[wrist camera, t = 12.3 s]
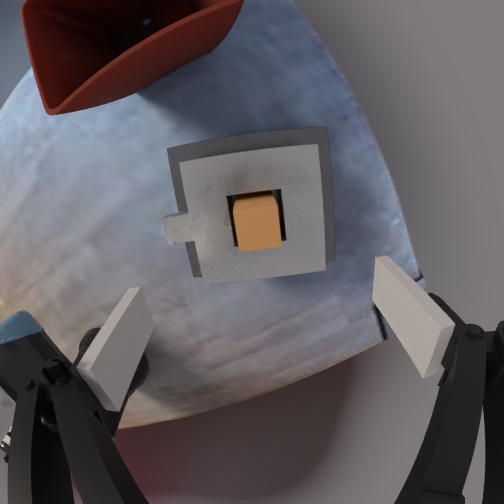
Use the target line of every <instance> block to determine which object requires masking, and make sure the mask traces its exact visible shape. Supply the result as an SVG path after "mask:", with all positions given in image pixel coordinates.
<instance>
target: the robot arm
mask: <svg viewBox="0 0 504 504" xmlns="http://www.w3.org/2000/svg"><path fill="white" fill-rule="evenodd" d="M372 300H373V301H374V303H375V304H376V306H377V307H378V309H379V310H380V312H381V313H382V315H383V316H384V317H385V319H386V320H387V322H388V323H389V325H390V326H391V328H392V329H393V331H394V332H395V334H396V336H397V337H398V339H399V340H400V342H401V343H402V345H403V346H404V348H405V349H406V351H407V353H408V354H409V356H410V357H411V359H412V361H413V362H414V364H415V366H416V367H417V369H418V370H419V372H420V374H421V376H422V377H423V378H426V377H429V376H431V375H434V374H436V373H437V372H438V369H439V367H440V365H441V364H442V366H443V367H444V368H445V370H444V372H443V375H442V377H441V379H440V381H439V383H438V386H440V388H439V391H438V395H437V399H436V403H435V406H434V410H433V413H432V417H431V419H430V423H429V426H428V429H427V432H426V434H425V437H424V440H423V442H422V445H421V448H420V450H419V453H418V455H417V458H416V460H415V463H414V465H413V467H412V469H411V471H410V474H409V476H408V478H407V480H406V482H405V484H404V486H403V488H402V490H401V492H400V494H399V496H398V498H397V499H396V501H395V503H394V504H465V497H464V496H463V495H462V490H463V487H464V484H465V481H466V477H467V474H468V471H469V467H470V464H471V461H472V457H473V453H474V448H475V444H476V440H477V435H478V430H479V425H480V419H481V412H482V405H483V412H484V424H485V453H486V455H485V456H486V457H485V482H484V492H483V501H482V504H504V321H501V322H500V323H499V324H498V327H497V329H496V331H490V332H485V331H484V330H483V329H482V328H481V327H479V326H478V325H475V324H465V323H464V322H463V321H462V320H461V318H460V317H459V316H458V315H457V314H456V313H455V312H454V311H453V310H452V309H450V307H449V306H448V305H447V304H445V302H444V301H443V300H442V299H441V298H440V297H439V296H436V295H435V294H433V293H428V294H427V293H426V292H425V291H424V290H423V289H422V288H421V287H420V286H419V285H418V284H417V283H416V282H415V281H414V280H413V279H412V278H411V277H410V276H409V275H407V274H406V273H405V272H404V271H403V270H402V269H401V268H400V267H399V266H398V265H397V264H396V263H395V262H394V261H393V260H392V259H391V258H389V257H388V256H380V257H375V272H374V285H373V296H372ZM154 327H155V325H154V322H153V320H152V317H151V314H150V312H149V309H148V306H147V303H146V301H145V298H144V295H143V292H142V289H141V287H135V288H129V289H128V291H127V292H126V293H125V295H124V296H123V298H122V299H121V300H120V302H119V303H118V305H117V306H116V308H115V309H114V310H113V312H112V313H111V315H110V316H109V318H108V319H107V321H106V322H105V324H104V325H103V327H102V328H94V329H91V330H89V331H88V332H87V333H86V334H85V336H84V337H83V338H82V340H81V342H80V345H79V353H78V356H77V358H76V360H75V361H74V363H73V364H72V363H71V362H70V361H69V360H68V359H67V358H66V356H65V355H64V354H63V353H62V352H61V351H60V350H59V348H58V347H57V346H56V345H55V344H54V343H53V341H52V340H51V339H50V338H49V336H48V335H47V334H46V333H45V331H44V328H42V327H41V326H40V325H39V324H38V323H37V322H36V320H35V319H34V318H33V317H32V315H31V314H30V313H28V312H27V311H19V312H17V313H15V314H14V315H12V316H11V317H9V318H8V319H6V320H5V321H4V322H2V323H1V324H0V444H1V442H2V441H3V439H4V438H5V436H6V434H7V433H8V431H9V430H10V428H11V427H12V431H11V438H10V448H9V460H8V504H75V503H74V497H73V490H72V483H71V475H70V470H71V473H72V476H73V479H74V482H75V484H76V487H77V489H78V492H79V494H80V497H81V499H82V501H83V504H149V503H148V501H147V500H146V499H145V497H144V495H143V494H142V492H141V491H140V489H139V487H138V486H137V484H136V482H135V481H134V479H133V477H132V476H131V474H130V472H129V470H128V468H127V467H126V465H125V463H124V461H123V459H122V457H121V456H120V453H119V451H118V450H117V448H116V445H115V444H114V437H115V434H116V431H117V428H118V425H119V422H120V420H121V417H122V414H123V411H124V409H125V406H126V403H127V401H128V398H129V397H130V396H131V395H132V394H133V393H134V391H135V390H136V389H137V388H138V387H139V386H141V385H142V384H143V382H144V381H145V379H146V376H147V374H148V370H149V365H148V361H147V359H146V357H145V355H144V353H143V352H144V350H145V348H146V345H147V343H148V341H149V338H150V336H151V334H152V332H153V329H154ZM41 418H42V419H43V421H42V419H41Z"/></svg>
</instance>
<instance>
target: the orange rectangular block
mask: <svg viewBox="0 0 504 504" xmlns="http://www.w3.org/2000/svg"><path fill="white" fill-rule="evenodd" d="M233 215H234V221H235V228H236V234H237V240H238V246H239V252H243V251H251V250H259V249H267V248H275V247H282V243H281V233H280V224H279V215H278V206H277V203H276V201H275V198H274V196H273V194H272V191H271V190H266V191H258V192H250V193H243V194H237V197H236V201H235V204H234V208H233Z"/></svg>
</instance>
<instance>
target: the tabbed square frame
mask: <svg viewBox="0 0 504 504" xmlns="http://www.w3.org/2000/svg"><path fill="white" fill-rule="evenodd" d="M167 152H168V158H169V163H170V169H171V175H172V180H173V185H174V191H175V196H176V201H177V206H178V211H179V213H175V214H169V215H166V216H165V217H163V218H162V219H163V224H164V228H165V232H166V237H167V241H168V245H169V244H176V243H183V242H185V243H186V247H187V252H188V256H189V260H190V264H191V268H192V273H193V277H202V278H203V282H204V285H213V284H222V283H231V282H240V281H248V280H257V279H265V278H273V277H281V276H288V275H296V274H303V273H311V272H318V271H325V270H326V261H330V260H335V228H334V205H333V188H332V175H331V163H330V152H329V142H328V133H327V127H317V128H301V129H288V130H277V131H268V132H259V133H251V134H243V135H236V136H230V137H223V138H217V139H211V140H206V141H200V142H195V143H190V144H185V145H180V146H176V147H171V148H167ZM266 190H271V191H272V194H273V196H274V198H275V201H276V203H277V206H278V215H279V224H280V233H281V243H282V247H275V248H267V249H259V250H251V251H243V252H239V246H238V240H237V234H236V228H235V221H234V215H233V208H234V204H235V201H236V197H237V194H243V193H250V192H258V191H266Z"/></svg>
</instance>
